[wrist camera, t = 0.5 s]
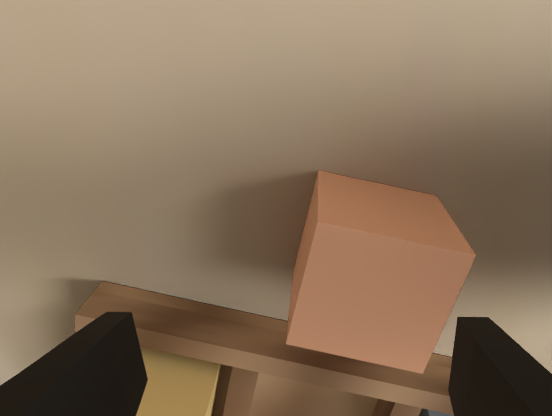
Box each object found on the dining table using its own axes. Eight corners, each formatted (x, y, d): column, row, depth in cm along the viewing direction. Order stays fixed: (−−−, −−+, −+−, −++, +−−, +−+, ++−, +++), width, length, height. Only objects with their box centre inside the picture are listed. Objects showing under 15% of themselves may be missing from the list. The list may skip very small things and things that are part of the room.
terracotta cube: (436, 195, 18) (476, 255, 13) (399, 292, 20) (422, 374, 15) (318, 169, 18) (317, 221, 13) (293, 269, 20) (285, 344, 15)
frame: (562, 381, 21) (593, 428, 18) (494, 486, 24) (513, 536, 22) (102, 280, 21) (74, 314, 19) (99, 399, 24) (75, 439, 22)
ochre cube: (225, 345, 21) (199, 436, 16) (212, 416, 23) (185, 514, 18) (125, 323, 21) (71, 408, 16) (121, 396, 23) (72, 489, 18)
